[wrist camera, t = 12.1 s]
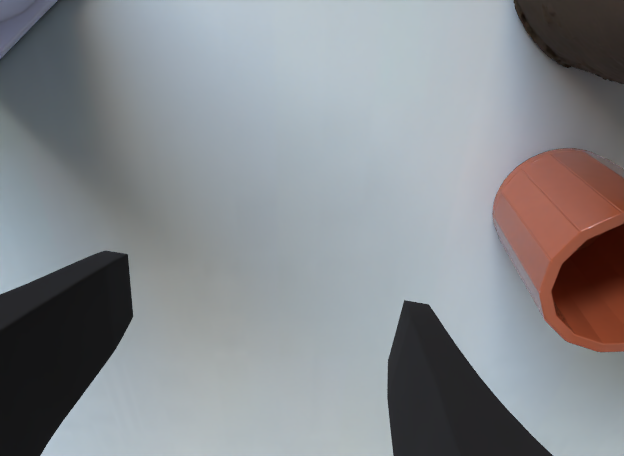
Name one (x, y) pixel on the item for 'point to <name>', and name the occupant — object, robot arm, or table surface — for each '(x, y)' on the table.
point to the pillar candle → (578, 33)
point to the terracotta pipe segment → (568, 242)
